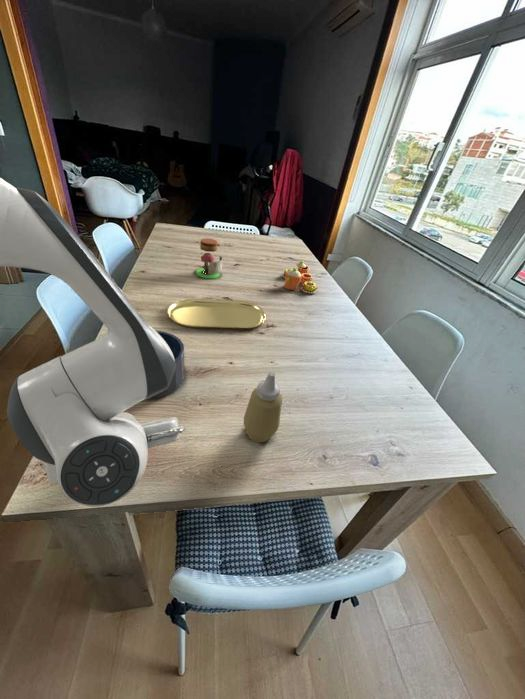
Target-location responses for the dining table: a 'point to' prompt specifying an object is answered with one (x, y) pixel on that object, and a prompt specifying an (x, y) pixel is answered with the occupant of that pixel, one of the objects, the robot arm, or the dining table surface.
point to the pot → (178, 354)
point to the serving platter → (216, 314)
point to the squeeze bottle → (263, 410)
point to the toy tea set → (299, 278)
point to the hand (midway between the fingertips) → (121, 434)
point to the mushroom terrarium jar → (209, 260)
